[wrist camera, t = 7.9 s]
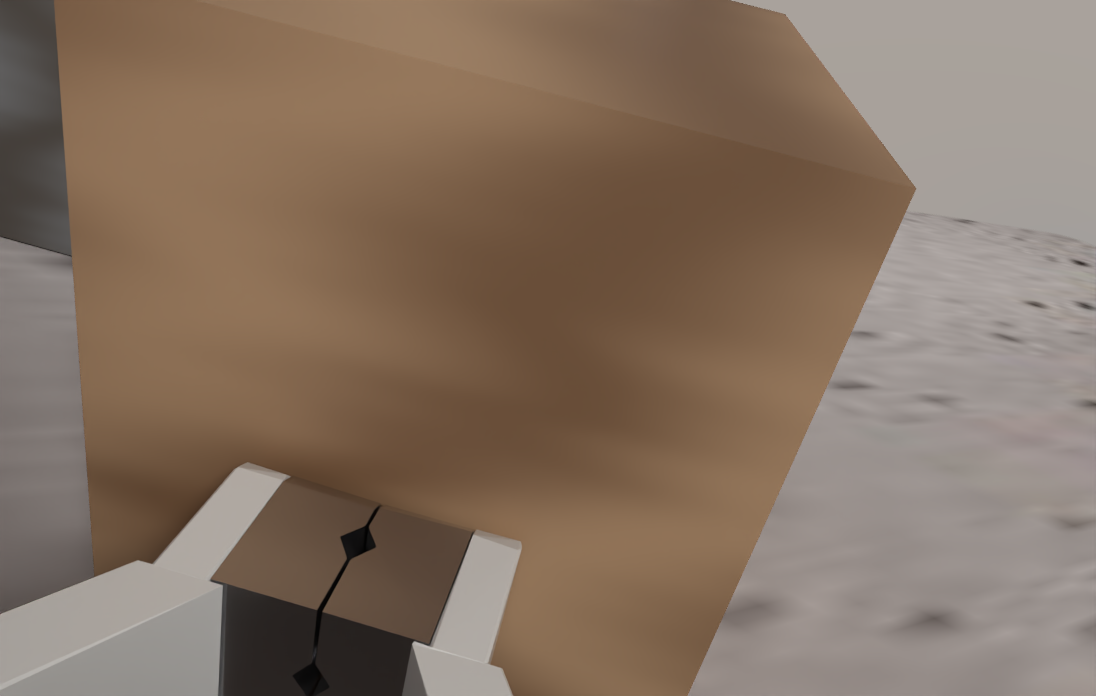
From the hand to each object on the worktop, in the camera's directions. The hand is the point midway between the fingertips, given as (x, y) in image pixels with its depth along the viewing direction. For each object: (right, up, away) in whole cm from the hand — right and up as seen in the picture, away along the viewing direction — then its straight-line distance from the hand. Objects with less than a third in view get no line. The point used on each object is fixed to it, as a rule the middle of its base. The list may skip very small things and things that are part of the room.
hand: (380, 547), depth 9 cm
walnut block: (0, -2, +8) cm, 8 cm away
